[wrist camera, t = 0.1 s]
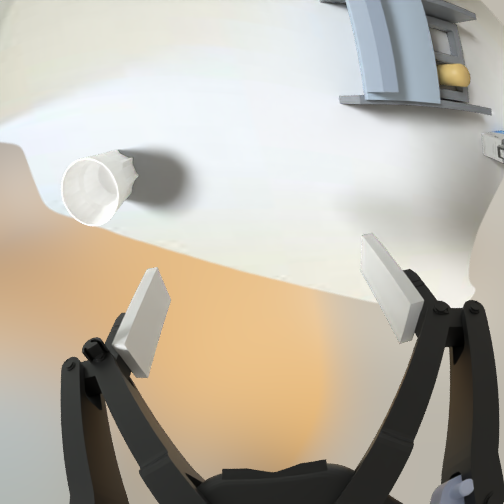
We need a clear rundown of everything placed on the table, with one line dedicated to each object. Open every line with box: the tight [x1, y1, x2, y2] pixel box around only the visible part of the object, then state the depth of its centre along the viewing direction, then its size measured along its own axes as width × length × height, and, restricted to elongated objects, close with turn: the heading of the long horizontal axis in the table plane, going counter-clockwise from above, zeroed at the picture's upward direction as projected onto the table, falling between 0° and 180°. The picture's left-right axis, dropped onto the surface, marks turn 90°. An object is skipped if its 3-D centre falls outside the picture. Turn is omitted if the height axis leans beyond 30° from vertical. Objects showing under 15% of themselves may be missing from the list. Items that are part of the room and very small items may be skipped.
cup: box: [61, 150, 139, 226], centre depth 36 cm, size 10×10×10 cm
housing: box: [320, 0, 491, 115], centre depth 27 cm, size 19×27×8 cm
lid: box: [345, 0, 441, 104], centre depth 21 cm, size 18×12×6 cm, turn 10°
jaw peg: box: [436, 64, 470, 87], centre depth 28 cm, size 4×4×7 cm
